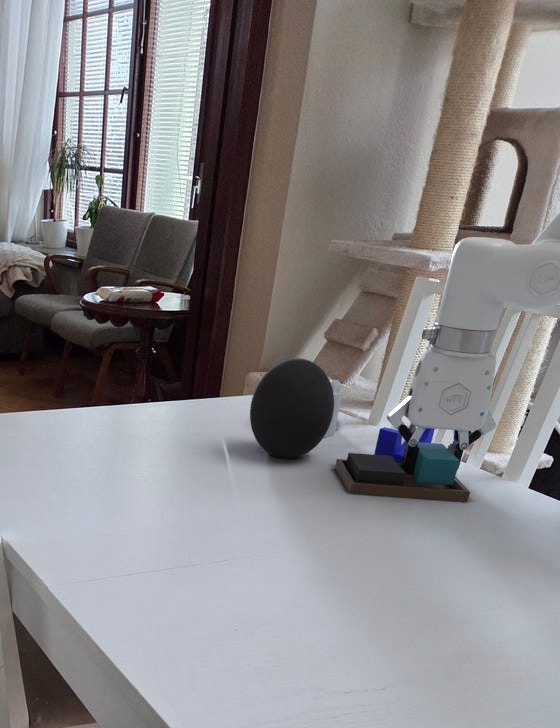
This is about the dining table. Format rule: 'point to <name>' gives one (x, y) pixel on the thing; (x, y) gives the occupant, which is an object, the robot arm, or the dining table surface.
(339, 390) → the lumpy-topped squat cylinder
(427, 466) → the teal rectangular block
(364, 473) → the back pad
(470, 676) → the dining table surface
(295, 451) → the decorative egg
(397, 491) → the frame
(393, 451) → the blue curved cradle
